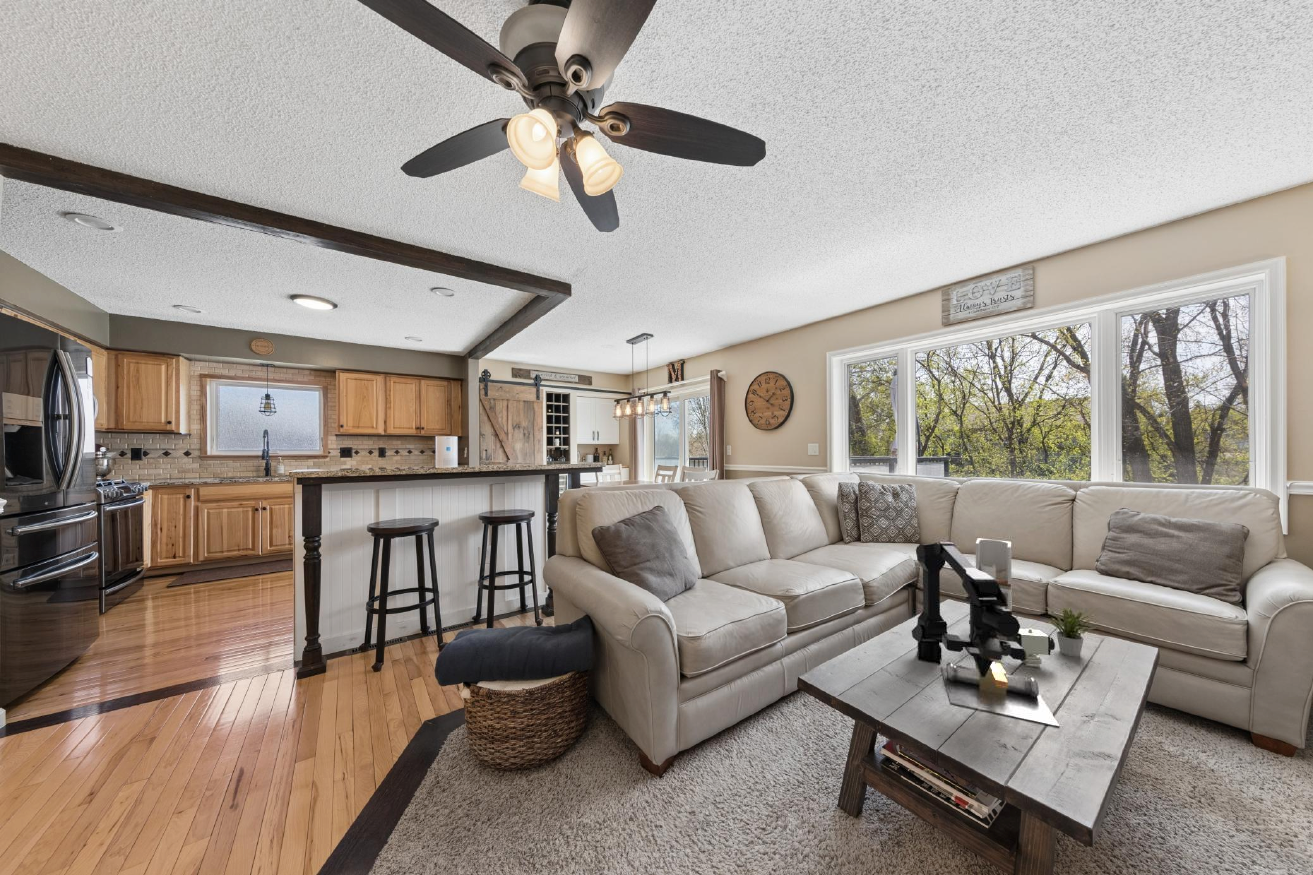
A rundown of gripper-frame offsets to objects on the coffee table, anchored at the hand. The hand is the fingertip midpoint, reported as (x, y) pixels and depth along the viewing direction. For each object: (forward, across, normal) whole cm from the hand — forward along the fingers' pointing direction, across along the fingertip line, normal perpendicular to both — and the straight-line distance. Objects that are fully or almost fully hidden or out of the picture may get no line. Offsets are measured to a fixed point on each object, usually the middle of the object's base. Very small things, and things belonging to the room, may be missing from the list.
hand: (982, 676), depth 127 cm
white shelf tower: (+8, +21, +58) cm, 62 cm away
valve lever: (+1, +4, +5) cm, 7 cm away
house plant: (+8, +41, +45) cm, 61 cm away
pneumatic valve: (+8, +23, +32) cm, 40 cm away
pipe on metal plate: (+8, +5, +7) cm, 12 cm away
